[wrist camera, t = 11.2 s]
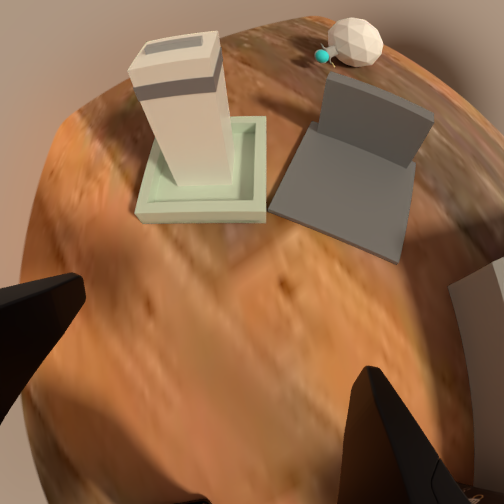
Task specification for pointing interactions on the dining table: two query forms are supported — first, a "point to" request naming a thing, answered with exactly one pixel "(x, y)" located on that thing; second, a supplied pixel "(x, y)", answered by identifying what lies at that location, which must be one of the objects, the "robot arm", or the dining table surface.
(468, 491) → the coffee mug
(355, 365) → the dining table surface
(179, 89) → the banded cream pillar
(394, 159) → the dock
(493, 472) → the box
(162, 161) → the tray
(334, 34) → the perfume bottle
